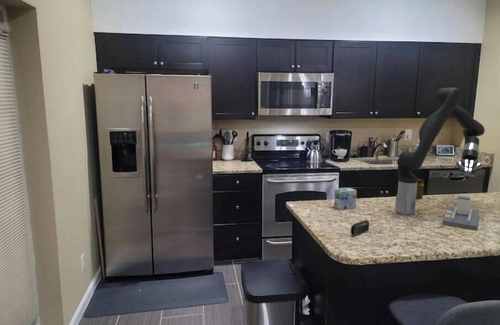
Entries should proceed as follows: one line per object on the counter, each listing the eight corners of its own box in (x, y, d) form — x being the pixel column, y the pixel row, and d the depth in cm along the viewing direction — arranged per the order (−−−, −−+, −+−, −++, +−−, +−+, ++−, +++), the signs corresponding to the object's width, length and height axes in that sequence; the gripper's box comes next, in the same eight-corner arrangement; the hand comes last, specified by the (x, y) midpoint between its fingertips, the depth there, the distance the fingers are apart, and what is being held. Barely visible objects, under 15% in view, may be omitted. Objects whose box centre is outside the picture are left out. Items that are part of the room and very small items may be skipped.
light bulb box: (339, 210, 193) (340, 191, 191) (333, 206, 199) (334, 188, 197) (356, 208, 195) (357, 190, 194) (349, 205, 202) (350, 187, 200)
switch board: (448, 210, 192) (448, 204, 191) (478, 215, 184) (479, 208, 183) (442, 224, 169) (442, 217, 168) (476, 230, 161) (477, 223, 160)
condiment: (424, 198, 218) (426, 179, 216) (419, 200, 212) (421, 181, 210) (413, 196, 223) (414, 178, 221) (407, 198, 217) (409, 180, 215)
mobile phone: (364, 218, 163) (348, 225, 153) (370, 220, 161) (354, 227, 150) (363, 228, 164) (347, 236, 153) (369, 230, 162) (354, 238, 151)
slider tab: (457, 211, 182) (458, 195, 181) (468, 213, 179) (470, 196, 178) (456, 213, 179) (458, 197, 178) (468, 215, 176) (469, 198, 175)
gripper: (456, 147, 195) (452, 172, 187) (485, 149, 187) (482, 175, 179) (456, 156, 200) (452, 180, 192) (484, 157, 192) (481, 183, 184)
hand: (467, 177), depth 185 cm, fingers closed
